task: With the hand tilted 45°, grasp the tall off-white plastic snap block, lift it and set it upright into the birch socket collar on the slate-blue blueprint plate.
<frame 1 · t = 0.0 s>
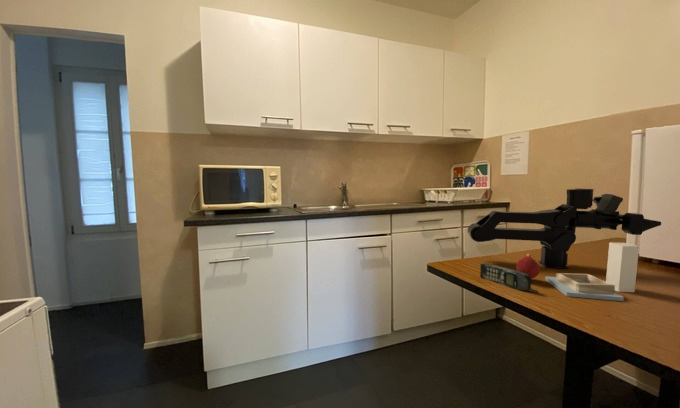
hand: (648, 221, 88), 17 cm above the table, tool horizontal, fingers open, 9 cm apart
mobile phone: (506, 285, 80), on the table
onion: (527, 281, 83), on the table
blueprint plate: (580, 289, 76), on the table
snap block: (619, 288, 76), on the table
socket collar: (582, 289, 76), resting on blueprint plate
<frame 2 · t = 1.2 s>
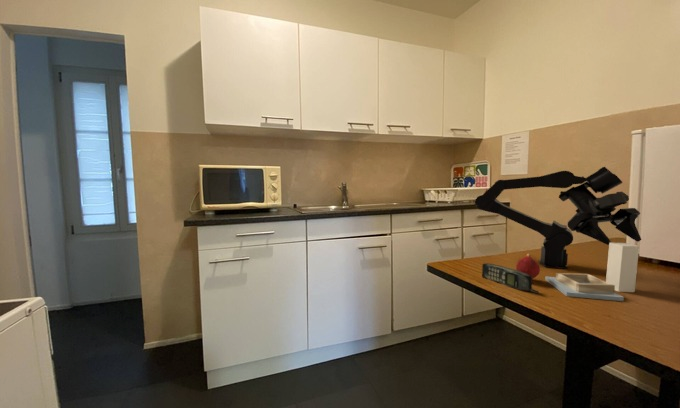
hand: (624, 242, 78), 12 cm above the table, tool tilted 50°, fingers open, 9 cm apart
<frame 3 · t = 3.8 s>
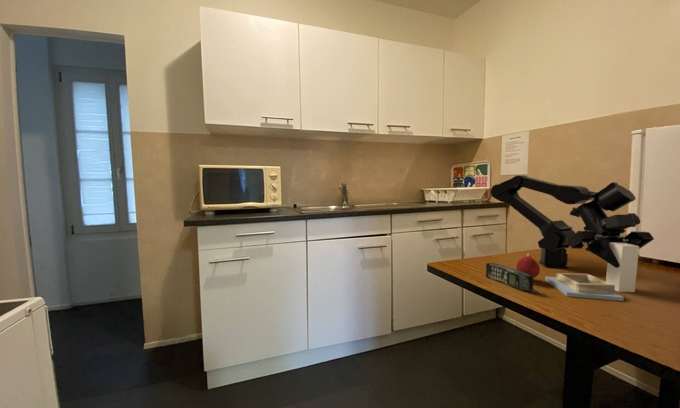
hand: (626, 267, 74), 7 cm above the table, tool tilted 45°, fingers closed on snap block, 4 cm apart
snap block: (619, 288, 76), on the table, touching gripper
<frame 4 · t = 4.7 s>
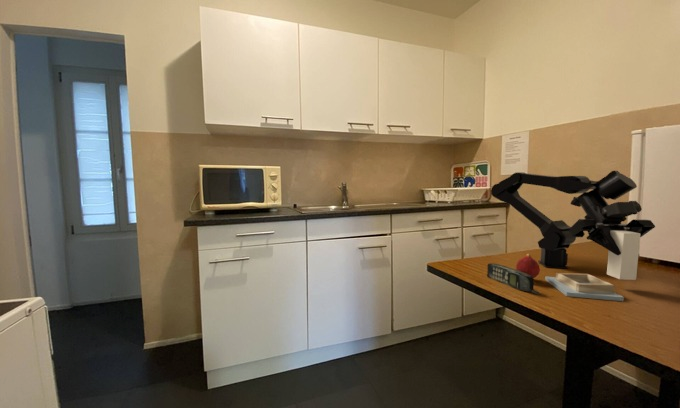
hand: (627, 254, 74), 10 cm above the table, tool tilted 45°, fingers closed on snap block, 4 cm apart
snap block: (620, 276, 76), point 3 cm above the table, touching gripper
when the fingers open (8 cm above the table, at t = 7.3 s): snap block stays where it is, resting on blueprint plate.
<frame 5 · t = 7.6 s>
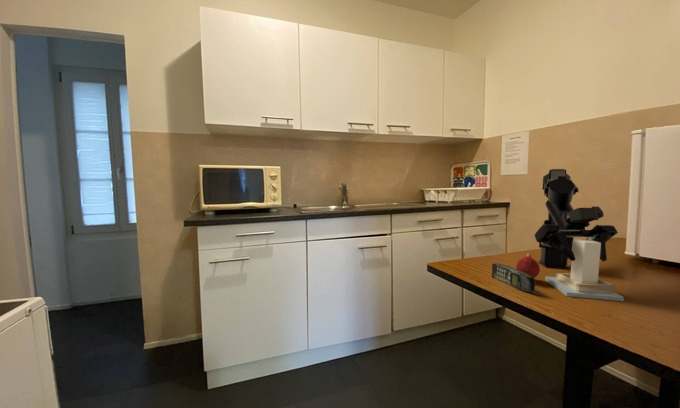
hand: (589, 260, 74), 9 cm above the table, tool tilted 45°, fingers open, 7 cm apart
snap block: (583, 285, 76), point 1 cm above the table, touching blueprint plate
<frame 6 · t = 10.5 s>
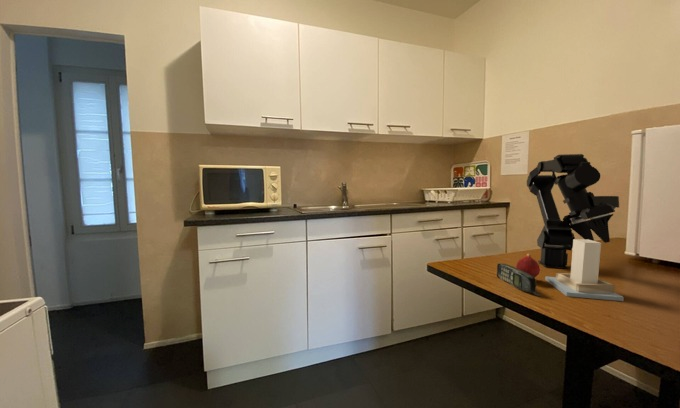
hand: (599, 242, 80), 12 cm above the table, tool tilted 25°, fingers open, 9 cm apart
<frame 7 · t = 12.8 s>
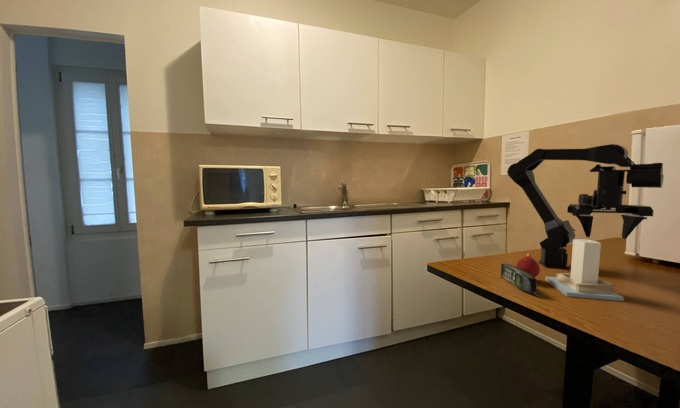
hand: (605, 237, 85), 12 cm above the table, tool pointing down, fingers open, 9 cm apart
at the end: snap block 0.0 cm off-centre on the socket collar, point 1.0 cm above the socket collar's base; snap block tilted 0°; the gripper is holding nothing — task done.
